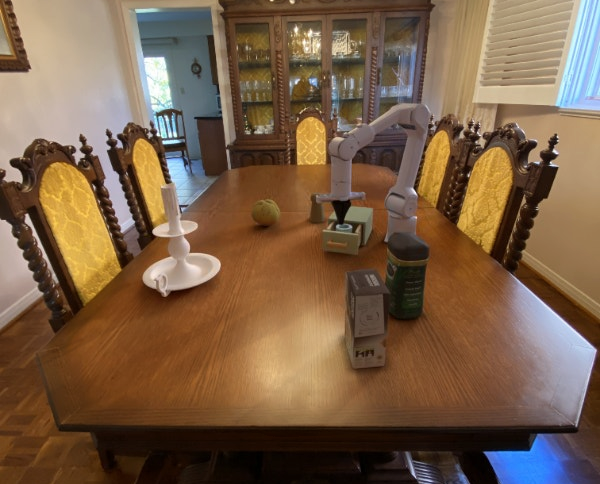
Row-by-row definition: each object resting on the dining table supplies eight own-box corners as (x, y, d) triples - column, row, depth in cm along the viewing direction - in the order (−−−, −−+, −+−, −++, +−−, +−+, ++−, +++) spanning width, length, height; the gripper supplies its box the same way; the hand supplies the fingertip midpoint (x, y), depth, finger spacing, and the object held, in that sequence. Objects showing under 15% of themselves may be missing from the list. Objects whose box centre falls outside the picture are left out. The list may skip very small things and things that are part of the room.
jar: (352, 240, 114) (353, 224, 112) (349, 246, 110) (349, 230, 107) (338, 238, 116) (338, 222, 114) (334, 244, 111) (334, 228, 109)
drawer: (354, 261, 103) (355, 240, 100) (317, 255, 106) (317, 236, 104) (365, 237, 118) (366, 219, 116) (333, 234, 122) (333, 216, 119)
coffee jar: (427, 319, 78) (437, 244, 71) (393, 322, 77) (400, 247, 70) (409, 295, 87) (416, 227, 80) (378, 298, 86) (383, 229, 79)
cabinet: (364, 245, 114) (365, 222, 111) (327, 241, 118) (328, 218, 115) (372, 229, 127) (373, 208, 124) (338, 226, 131) (338, 205, 128)
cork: (323, 223, 134) (323, 196, 130) (308, 222, 135) (307, 195, 131) (325, 217, 140) (325, 191, 136) (311, 217, 141) (310, 191, 137)
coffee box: (386, 366, 65) (392, 293, 59) (352, 369, 65) (355, 296, 59) (372, 334, 74) (376, 267, 68) (342, 336, 73) (344, 270, 67)
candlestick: (120, 309, 84) (92, 200, 74) (164, 261, 107) (148, 173, 97) (202, 311, 83) (185, 200, 72) (229, 262, 106) (219, 172, 95)
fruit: (246, 229, 131) (244, 203, 127) (261, 218, 141) (259, 195, 137) (272, 232, 127) (271, 206, 123) (285, 221, 137) (284, 197, 133)
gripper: (319, 185, 95) (319, 230, 100) (369, 181, 98) (367, 226, 103) (314, 179, 102) (314, 222, 107) (361, 176, 104) (359, 218, 109)
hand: (340, 223), depth 105 cm, fingers closed
